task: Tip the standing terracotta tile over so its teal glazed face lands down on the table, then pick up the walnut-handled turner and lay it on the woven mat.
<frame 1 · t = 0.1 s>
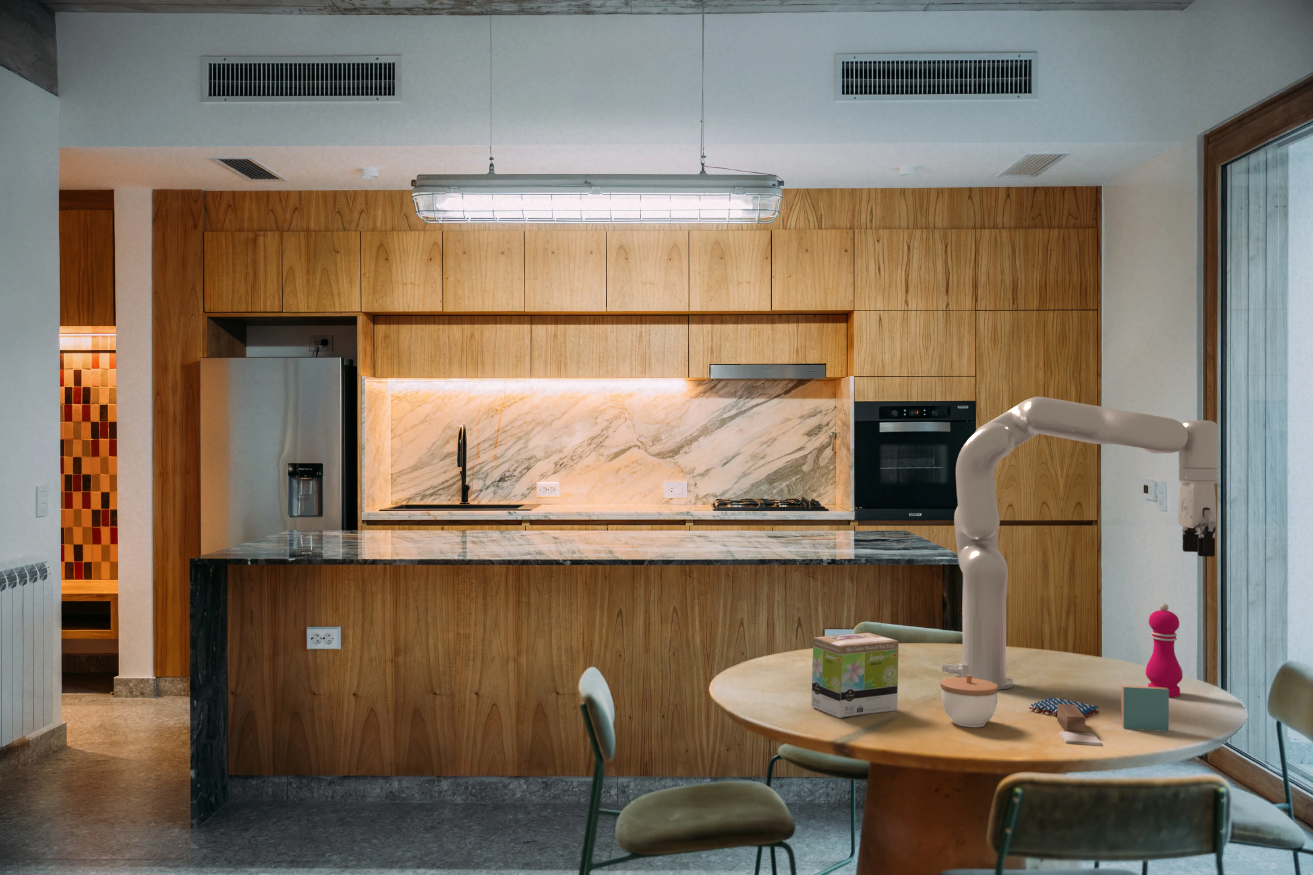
hand: (1198, 553, 210), 31 cm above the table, tool pointing down, fingers open, 9 cm apart
woven mat: (1063, 715, 195), on the table
turner: (1070, 728, 184), on the table
lidded jar: (968, 723, 187), on the table
tile: (1144, 728, 184), on the table
tea box: (854, 710, 196), on the table
pepper mill: (1163, 694, 211), on the table
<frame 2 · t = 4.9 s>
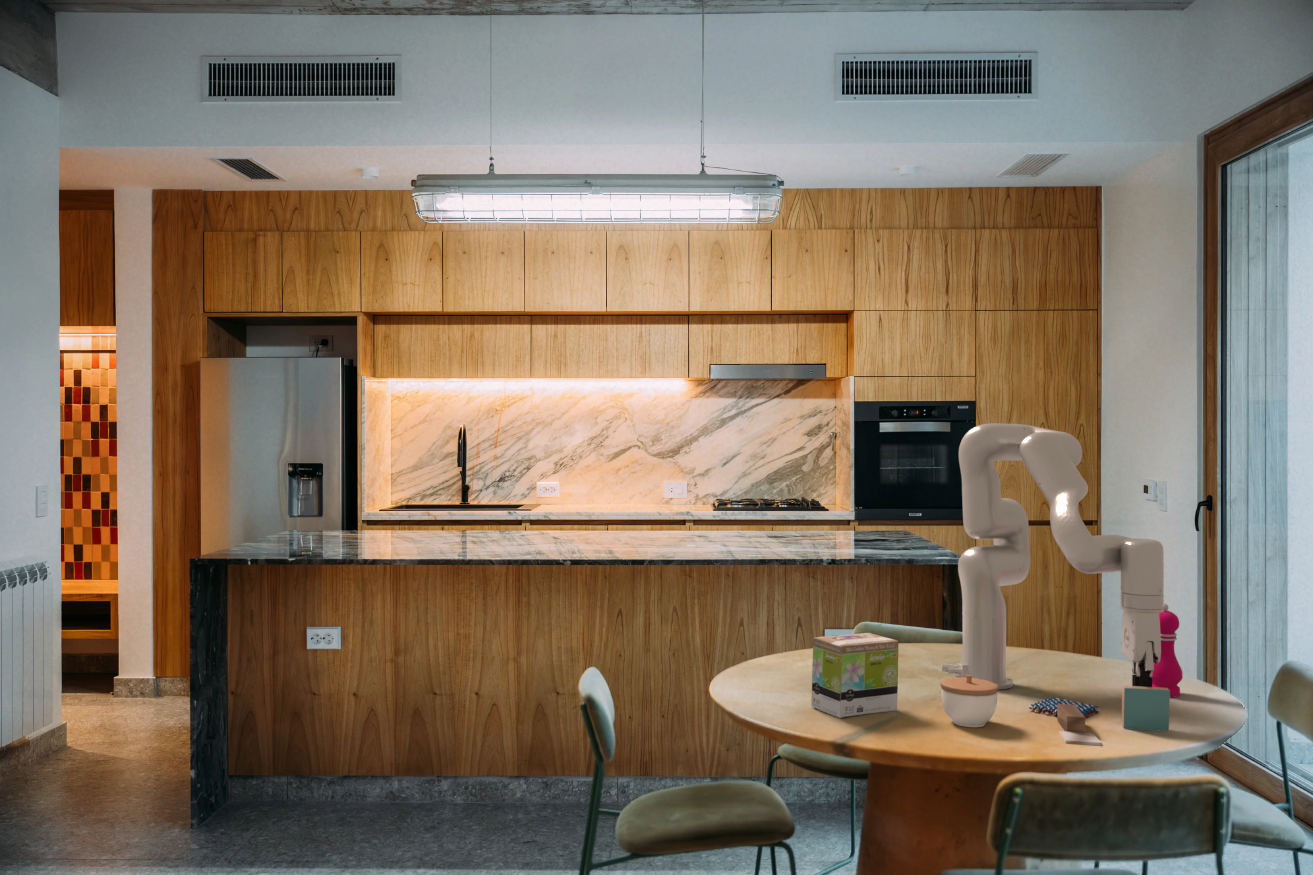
hand: (1142, 695, 186), 6 cm above the table, tool pointing down, fingers closed
tile: (1144, 728, 184), on the table, tilted 5°, touching gripper
everything else where it was.
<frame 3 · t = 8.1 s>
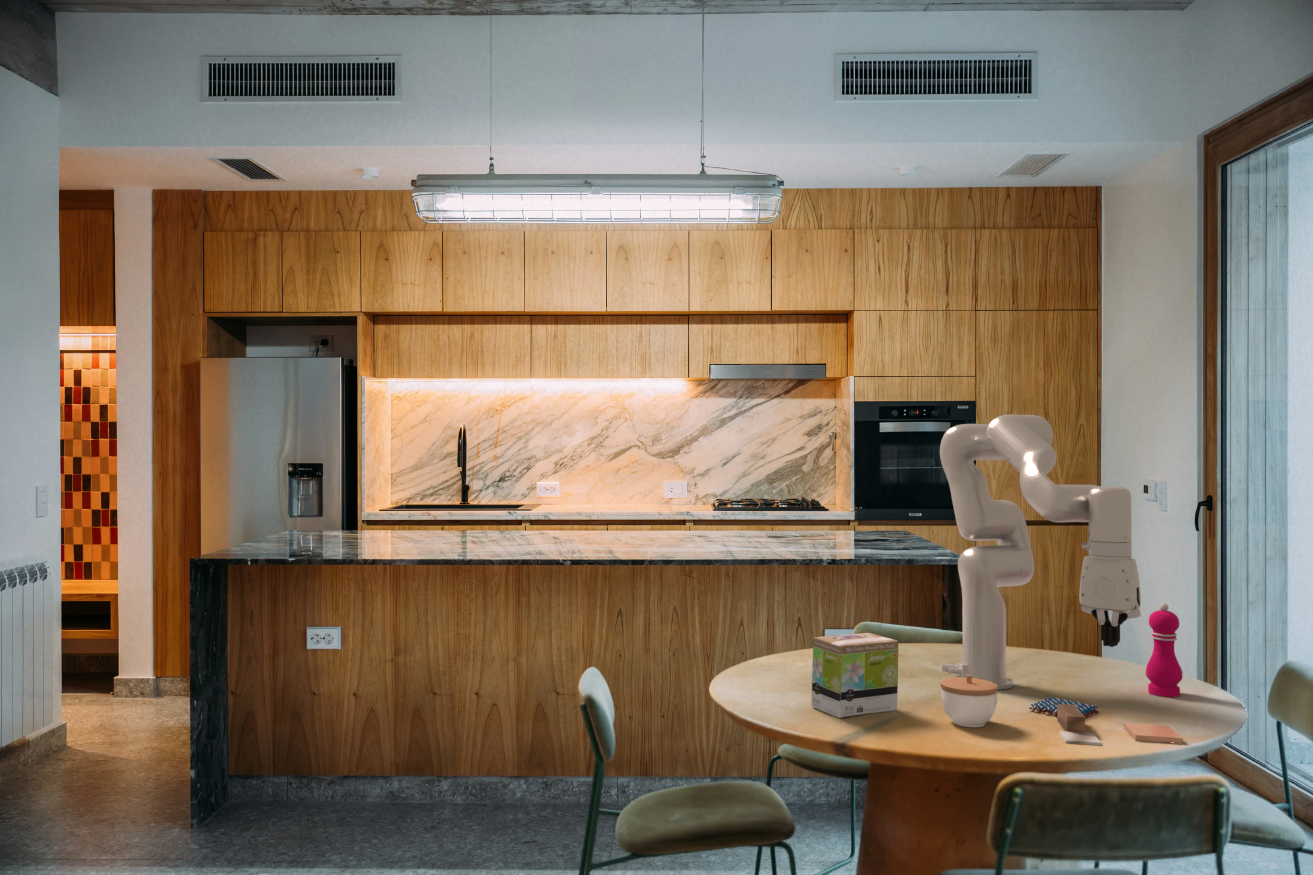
hand: (1110, 645, 184), 16 cm above the table, tool pointing down, fingers closed
tile: (1146, 728, 183), on the table, tilted 90°
everything else where it was.
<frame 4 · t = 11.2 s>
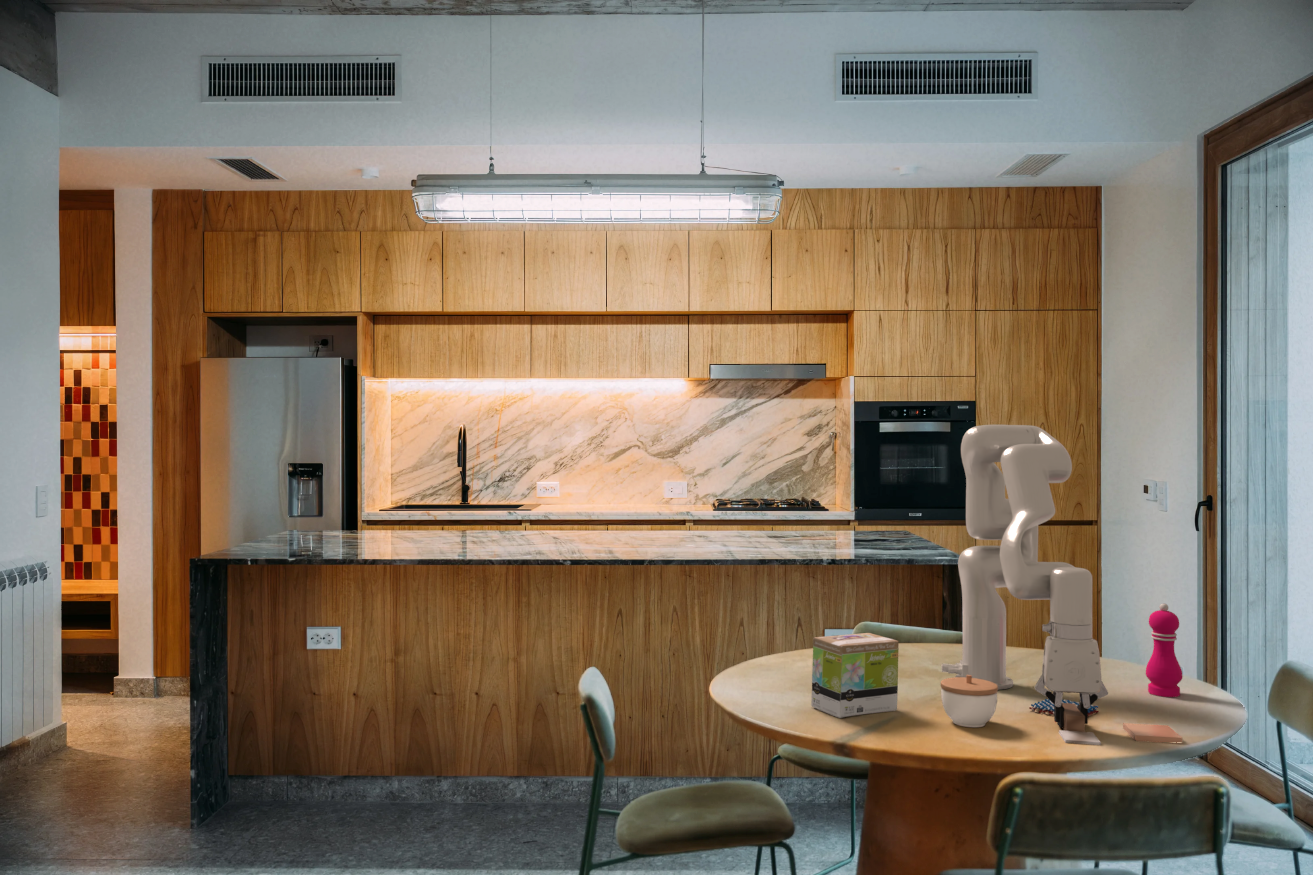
hand: (1070, 725, 184), 0 cm above the table, tool pointing down, fingers closed on turner, 3 cm apart
turner: (1070, 727, 184), on the table, touching gripper
everything else where it was.
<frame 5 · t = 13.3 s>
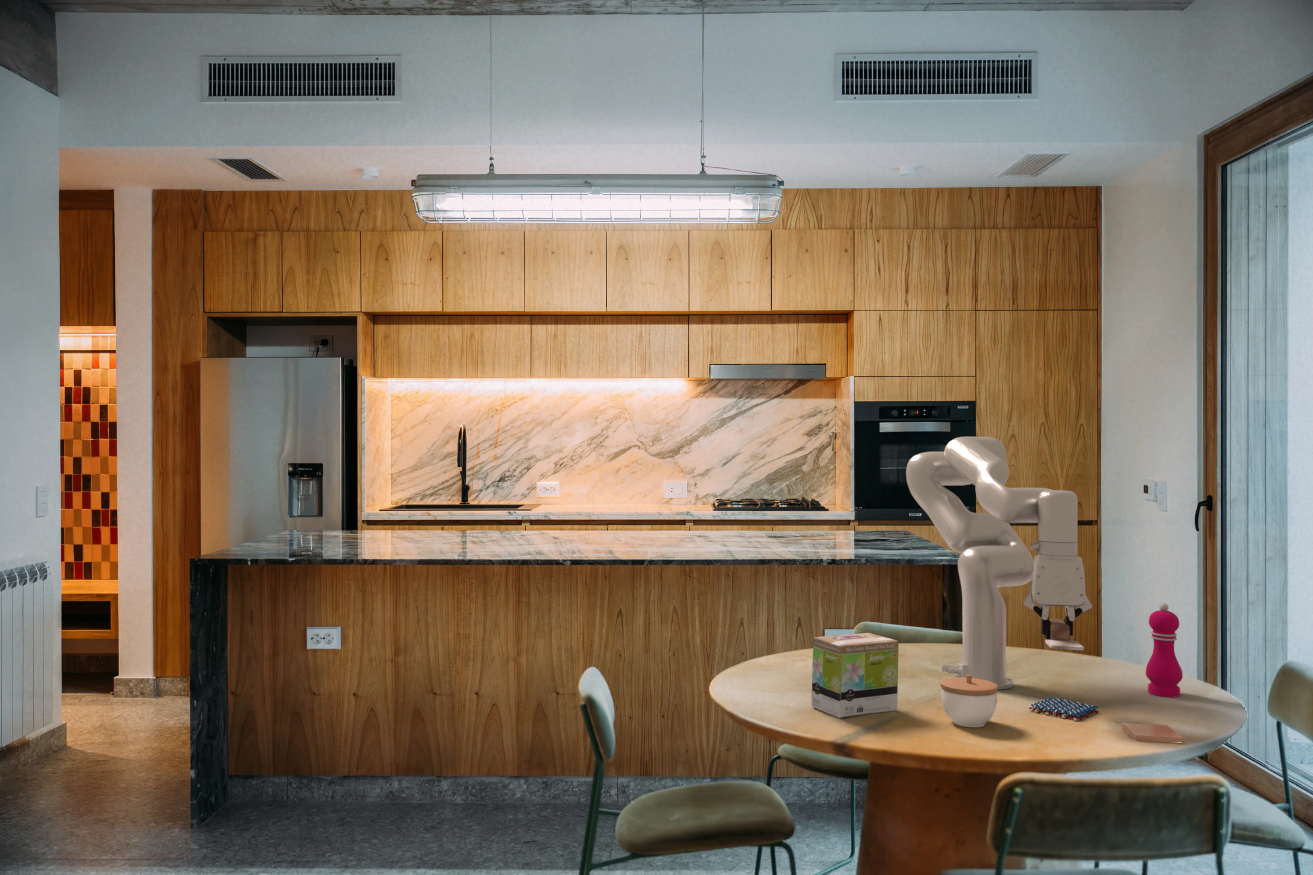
hand: (1057, 637, 197), 15 cm above the table, tool pointing down, fingers closed on turner, 3 cm apart
turner: (1056, 639, 197), point 15 cm above the table, touching gripper
everything else where it was.
when the fingers open (4 cm above the table, at t = 15.6 s): turner drops 2 cm, point 1 cm above the table.
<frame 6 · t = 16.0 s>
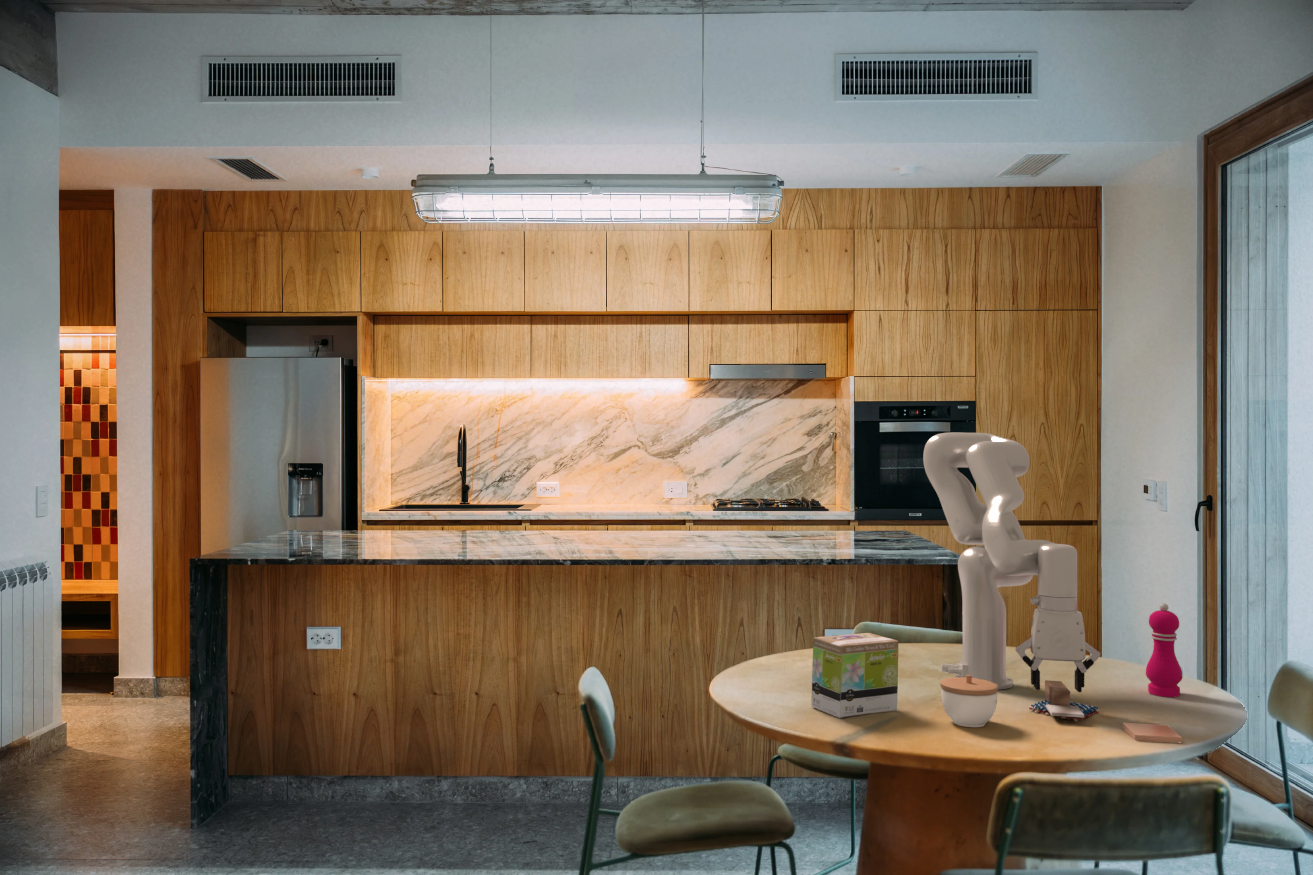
hand: (1057, 688, 197), 4 cm above the table, tool pointing down, fingers open, 7 cm apart
turner: (1057, 702, 197), point 1 cm above the table
everything else where it was.
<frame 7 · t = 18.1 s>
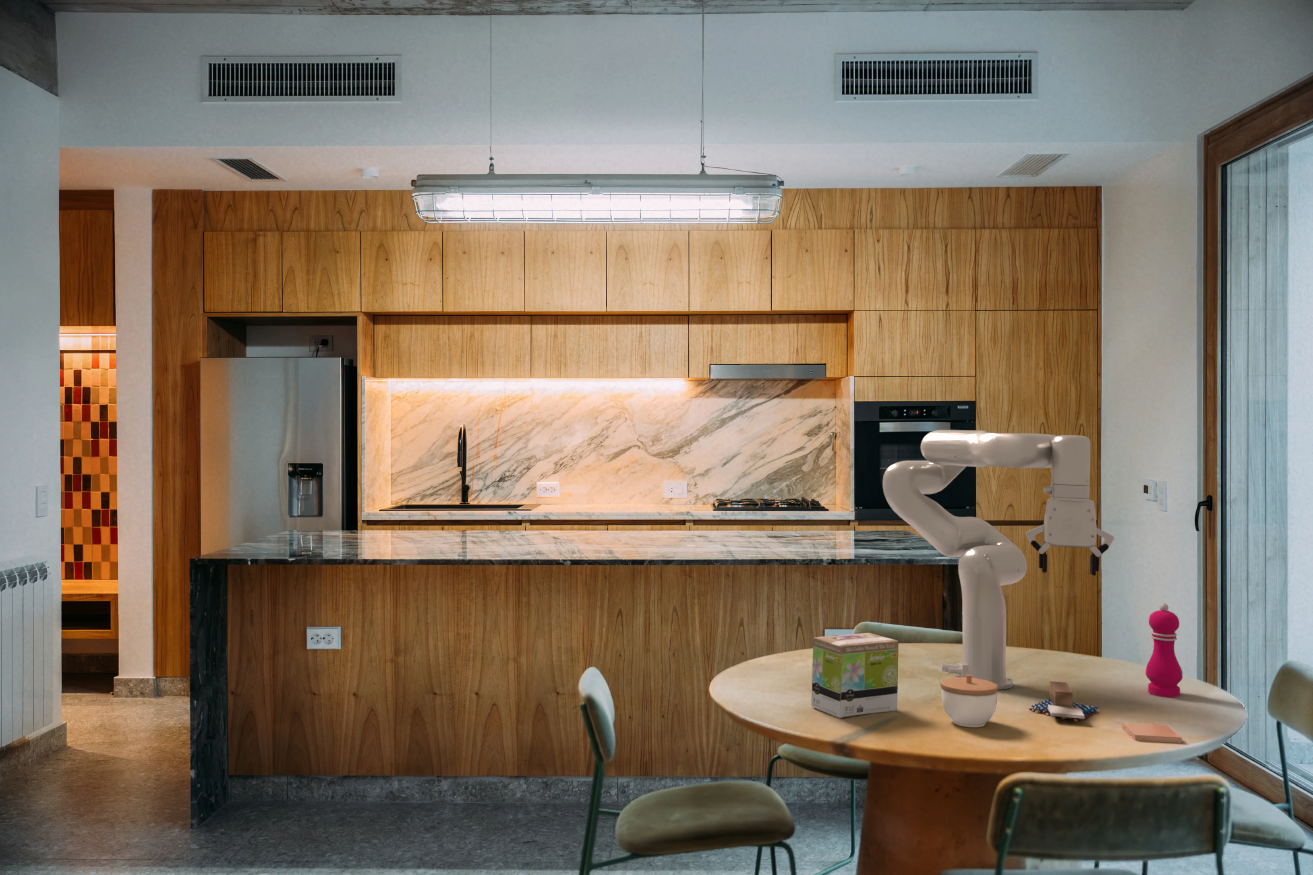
hand: (1068, 573, 203), 28 cm above the table, tool pointing down, fingers open, 9 cm apart
woven mat: (1063, 716, 195), on the table, touching turner
turner: (1060, 703, 197), point 1 cm above the table, touching woven mat
everything else where it was.
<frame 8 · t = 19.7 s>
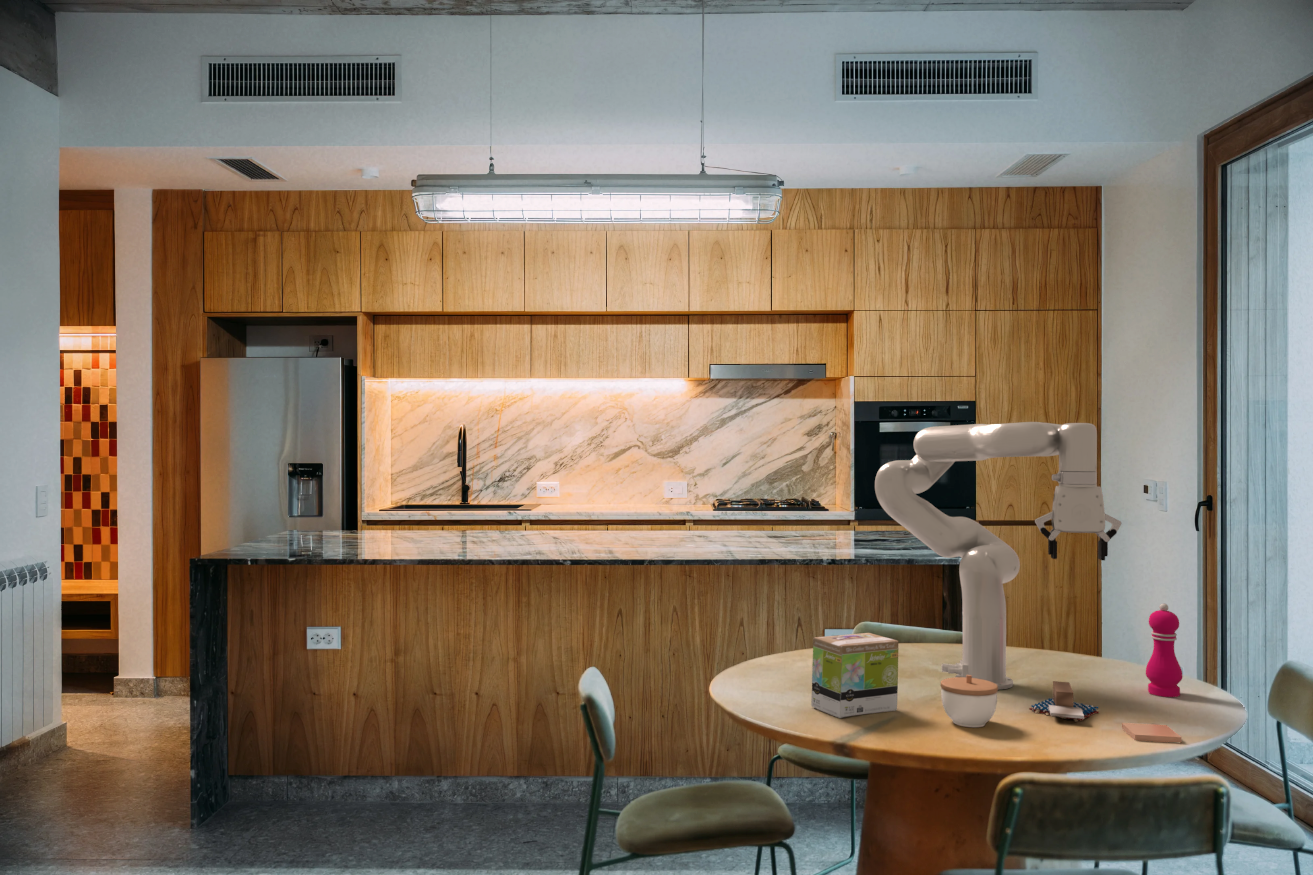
hand: (1077, 559, 206), 30 cm above the table, tool pointing down, fingers open, 9 cm apart
nothing on the table moved.
at the end: tile tilted 90°; turner 1.4 cm from the woven mat (horizontally); turner point 1.3 cm above the table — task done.
